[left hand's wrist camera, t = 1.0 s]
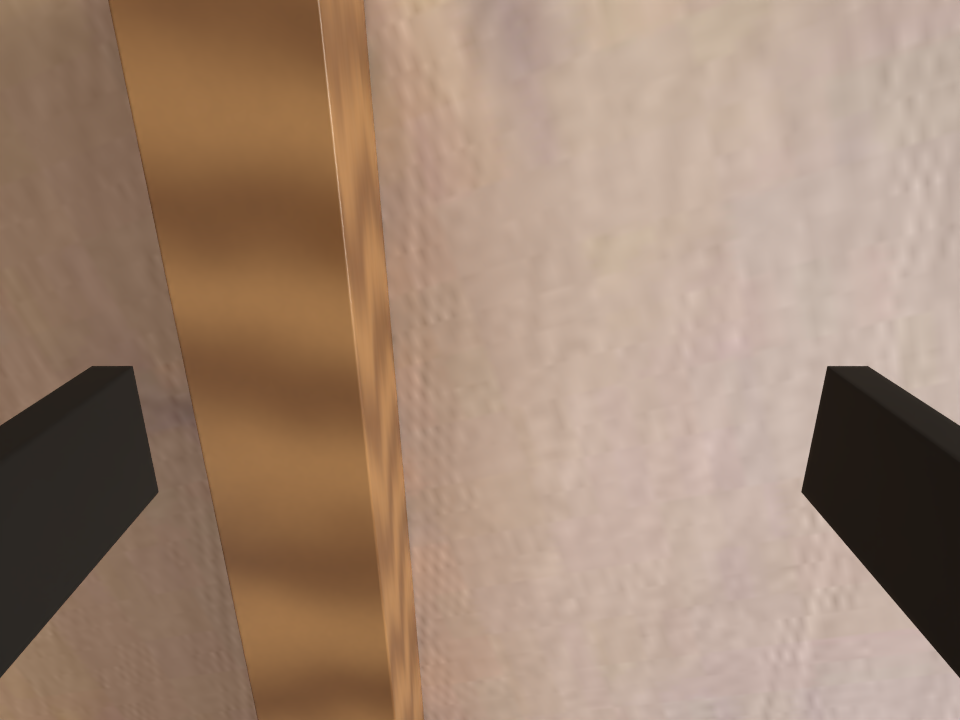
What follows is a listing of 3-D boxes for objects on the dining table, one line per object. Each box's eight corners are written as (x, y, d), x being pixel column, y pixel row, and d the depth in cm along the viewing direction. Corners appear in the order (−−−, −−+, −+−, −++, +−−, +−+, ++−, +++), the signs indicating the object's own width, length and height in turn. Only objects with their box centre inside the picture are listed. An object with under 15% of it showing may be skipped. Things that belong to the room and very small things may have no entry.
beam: (207, -24, 25) (88, -86, 17) (361, -30, 25) (310, -94, 17) (367, 993, 48) (347, 1154, 41) (447, 991, 48) (441, 1152, 41)
